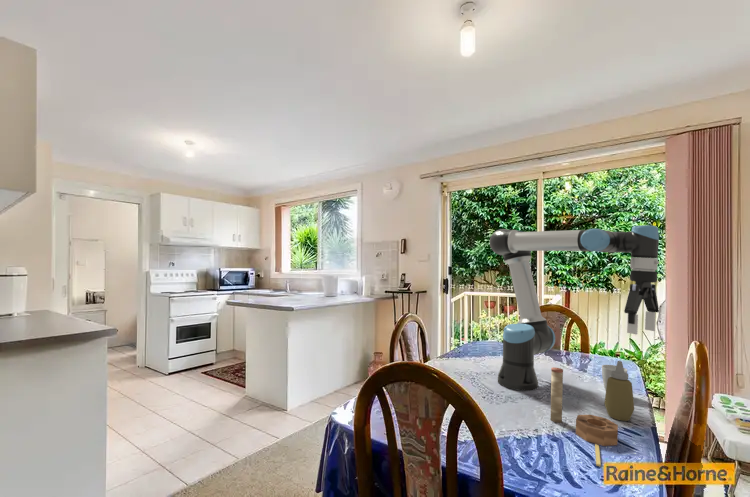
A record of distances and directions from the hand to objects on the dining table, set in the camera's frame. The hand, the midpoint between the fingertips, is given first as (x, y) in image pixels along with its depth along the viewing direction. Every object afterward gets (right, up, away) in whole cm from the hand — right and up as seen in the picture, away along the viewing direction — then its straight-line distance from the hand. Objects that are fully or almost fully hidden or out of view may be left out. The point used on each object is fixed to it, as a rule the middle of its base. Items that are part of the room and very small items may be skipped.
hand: (641, 332), depth 125 cm
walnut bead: (-29, -25, -21) cm, 44 cm away
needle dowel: (-35, -25, -12) cm, 45 cm away
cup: (-1, -27, +13) cm, 30 cm away
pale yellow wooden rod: (-35, -25, -32) cm, 53 cm away
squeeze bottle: (-13, -26, -8) cm, 30 cm away
